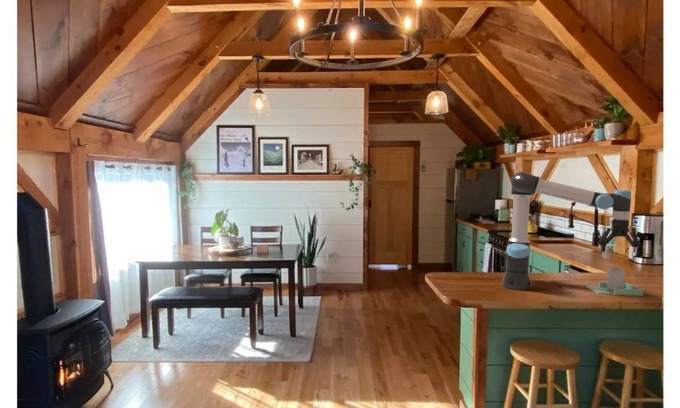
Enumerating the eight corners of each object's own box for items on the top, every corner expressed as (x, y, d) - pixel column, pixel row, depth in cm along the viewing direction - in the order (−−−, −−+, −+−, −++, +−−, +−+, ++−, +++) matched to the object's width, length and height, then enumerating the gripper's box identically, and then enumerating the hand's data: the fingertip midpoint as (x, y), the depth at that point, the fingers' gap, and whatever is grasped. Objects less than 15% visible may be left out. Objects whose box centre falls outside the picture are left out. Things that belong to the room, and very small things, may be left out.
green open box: (614, 295, 200) (615, 289, 200) (598, 287, 214) (599, 281, 214) (642, 296, 199) (643, 289, 199) (625, 288, 213) (625, 282, 213)
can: (624, 290, 207) (625, 268, 207) (623, 293, 202) (625, 271, 201) (607, 287, 212) (608, 266, 211) (606, 290, 206) (607, 268, 205)
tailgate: (610, 295, 202) (598, 294, 202) (597, 288, 213) (586, 287, 213) (610, 292, 202) (598, 291, 202) (597, 286, 213) (586, 285, 213)
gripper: (600, 219, 201) (597, 258, 203) (650, 220, 199) (647, 260, 201) (592, 217, 209) (589, 255, 210) (640, 218, 207) (637, 257, 208)
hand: (617, 258), depth 206 cm, fingers open, 13 cm apart
